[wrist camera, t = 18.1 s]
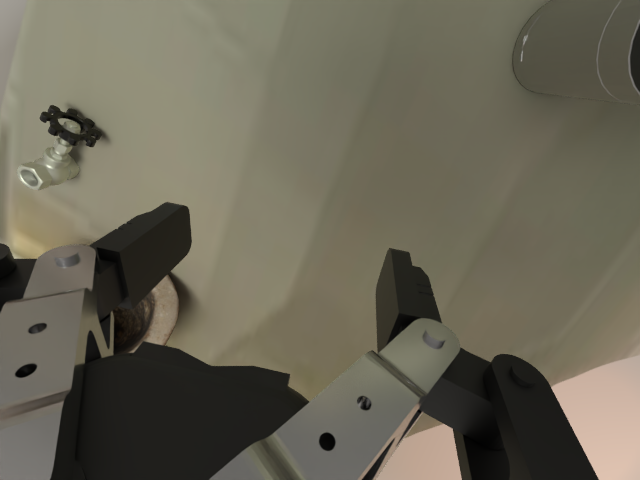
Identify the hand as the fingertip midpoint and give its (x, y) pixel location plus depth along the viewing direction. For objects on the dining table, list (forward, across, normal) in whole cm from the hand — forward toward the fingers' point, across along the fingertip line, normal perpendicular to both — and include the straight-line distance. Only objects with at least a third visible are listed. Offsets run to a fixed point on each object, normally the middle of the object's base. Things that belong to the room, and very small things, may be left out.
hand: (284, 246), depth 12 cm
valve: (+32, +40, +11) cm, 52 cm away
